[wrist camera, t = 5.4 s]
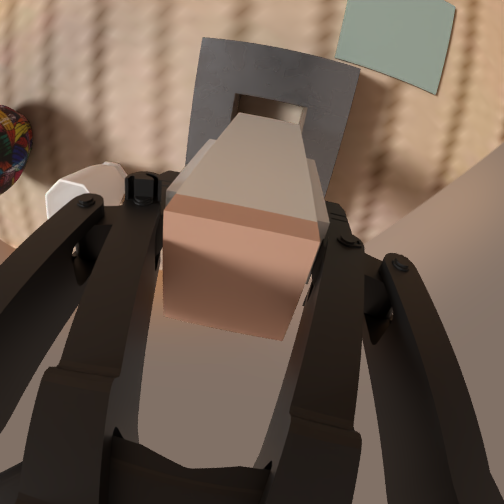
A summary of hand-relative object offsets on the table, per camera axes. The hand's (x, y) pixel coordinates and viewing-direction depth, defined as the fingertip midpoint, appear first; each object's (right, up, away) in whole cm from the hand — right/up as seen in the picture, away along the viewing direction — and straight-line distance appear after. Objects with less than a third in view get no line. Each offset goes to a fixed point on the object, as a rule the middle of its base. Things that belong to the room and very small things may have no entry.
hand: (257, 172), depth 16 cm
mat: (+13, +16, +4) cm, 20 cm away
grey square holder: (+1, +7, +10) cm, 13 cm away
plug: (0, +3, +4) cm, 5 cm away
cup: (-14, +3, +15) cm, 21 cm away
